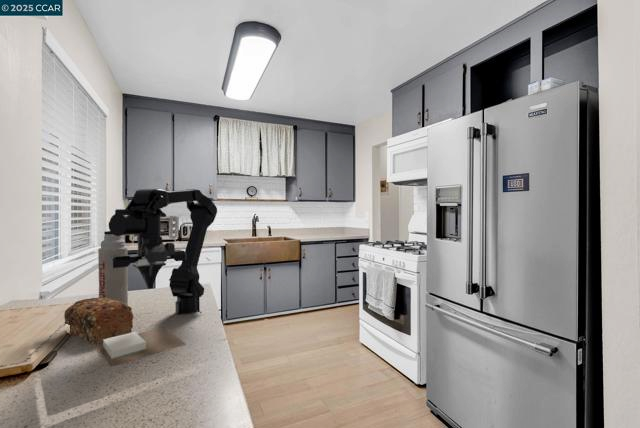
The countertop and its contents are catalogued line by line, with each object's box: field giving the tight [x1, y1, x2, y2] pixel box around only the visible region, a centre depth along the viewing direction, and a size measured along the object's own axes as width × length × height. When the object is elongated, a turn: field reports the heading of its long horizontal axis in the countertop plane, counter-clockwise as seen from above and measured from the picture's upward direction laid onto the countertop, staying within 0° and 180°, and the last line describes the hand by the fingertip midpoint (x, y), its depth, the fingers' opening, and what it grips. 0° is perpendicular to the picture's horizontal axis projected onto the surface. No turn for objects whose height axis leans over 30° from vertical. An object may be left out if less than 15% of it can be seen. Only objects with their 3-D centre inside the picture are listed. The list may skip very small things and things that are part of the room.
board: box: [95, 326, 187, 367], centre depth 79 cm, size 16×16×1 cm
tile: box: [102, 331, 146, 359], centre depth 76 cm, size 2×9×7 cm
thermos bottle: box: [97, 230, 129, 306], centre depth 104 cm, size 8×8×28 cm
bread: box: [63, 297, 134, 345], centre depth 88 cm, size 19×11×10 cm, turn 55°
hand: (149, 288), depth 89 cm, fingers closed
